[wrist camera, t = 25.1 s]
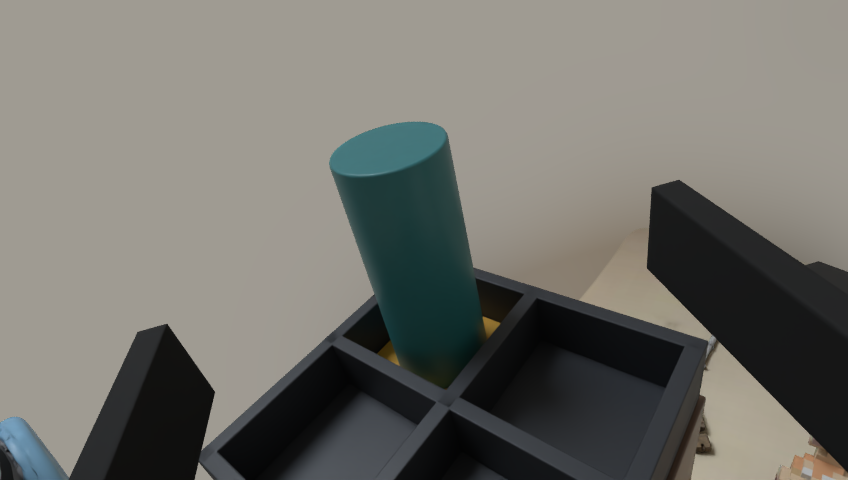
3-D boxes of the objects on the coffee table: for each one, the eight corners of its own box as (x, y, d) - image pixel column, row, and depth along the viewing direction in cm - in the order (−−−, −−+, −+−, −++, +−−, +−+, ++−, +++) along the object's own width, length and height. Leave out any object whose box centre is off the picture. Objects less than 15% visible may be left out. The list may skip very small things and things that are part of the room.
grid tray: (232, 501, 18) (194, 456, 17) (433, 297, 26) (421, 250, 24) (531, 821, 11) (517, 797, 9) (699, 398, 18) (709, 340, 16)
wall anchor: (692, 362, 50) (701, 360, 49) (719, 311, 54) (727, 309, 54) (699, 369, 50) (708, 367, 49) (725, 318, 54) (733, 316, 54)
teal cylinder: (412, 403, 19) (336, 189, 14) (390, 337, 23) (322, 143, 17) (503, 369, 20) (465, 148, 14) (469, 309, 23) (427, 111, 18)
